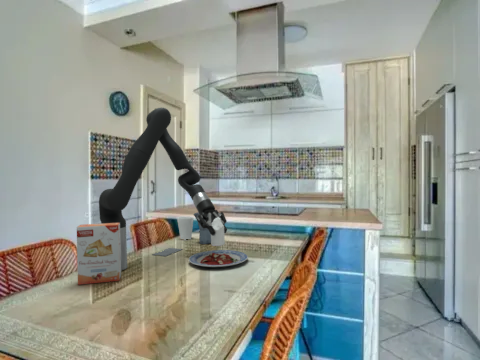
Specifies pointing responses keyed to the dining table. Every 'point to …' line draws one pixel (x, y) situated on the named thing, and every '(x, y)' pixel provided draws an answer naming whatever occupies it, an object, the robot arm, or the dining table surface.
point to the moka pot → (203, 232)
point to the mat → (167, 252)
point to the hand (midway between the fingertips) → (220, 233)
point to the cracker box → (98, 253)
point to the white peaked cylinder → (217, 233)
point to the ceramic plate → (218, 258)
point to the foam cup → (185, 227)
